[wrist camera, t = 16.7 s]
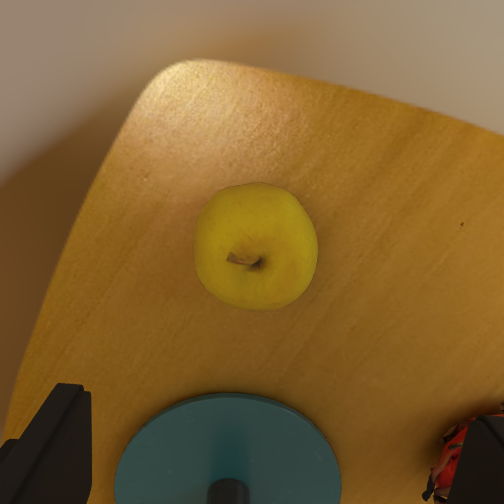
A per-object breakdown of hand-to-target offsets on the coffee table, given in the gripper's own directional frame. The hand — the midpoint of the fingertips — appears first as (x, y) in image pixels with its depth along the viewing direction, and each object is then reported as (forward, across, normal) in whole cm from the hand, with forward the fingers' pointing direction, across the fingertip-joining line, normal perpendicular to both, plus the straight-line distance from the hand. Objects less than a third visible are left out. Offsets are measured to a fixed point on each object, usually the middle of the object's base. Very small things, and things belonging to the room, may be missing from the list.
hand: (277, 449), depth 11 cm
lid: (+16, 0, +18) cm, 24 cm away
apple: (+17, 0, -1) cm, 17 cm away
